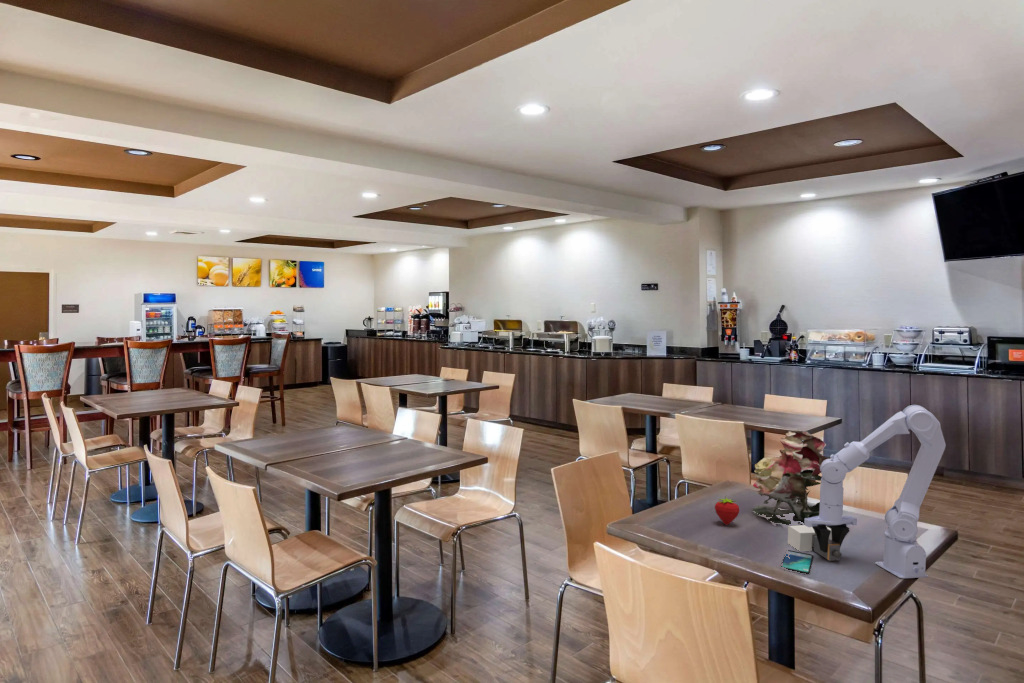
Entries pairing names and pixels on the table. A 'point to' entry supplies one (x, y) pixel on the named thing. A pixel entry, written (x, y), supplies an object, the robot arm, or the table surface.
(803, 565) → the smartphone
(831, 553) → the plug
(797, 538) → the socket block
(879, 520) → the table surface
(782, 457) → the rose bouquet
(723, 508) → the strawberry
